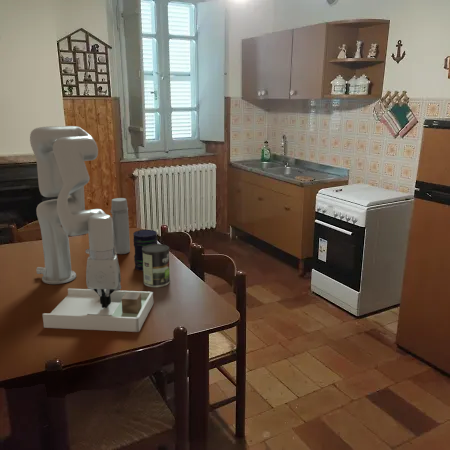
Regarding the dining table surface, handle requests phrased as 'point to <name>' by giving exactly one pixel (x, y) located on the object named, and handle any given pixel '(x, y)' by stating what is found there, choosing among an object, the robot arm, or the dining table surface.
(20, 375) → the dining table surface
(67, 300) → the box
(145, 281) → the coffee can
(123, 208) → the water bottle
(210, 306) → the dining table surface
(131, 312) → the walnut block
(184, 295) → the dining table surface
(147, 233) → the storage jar
